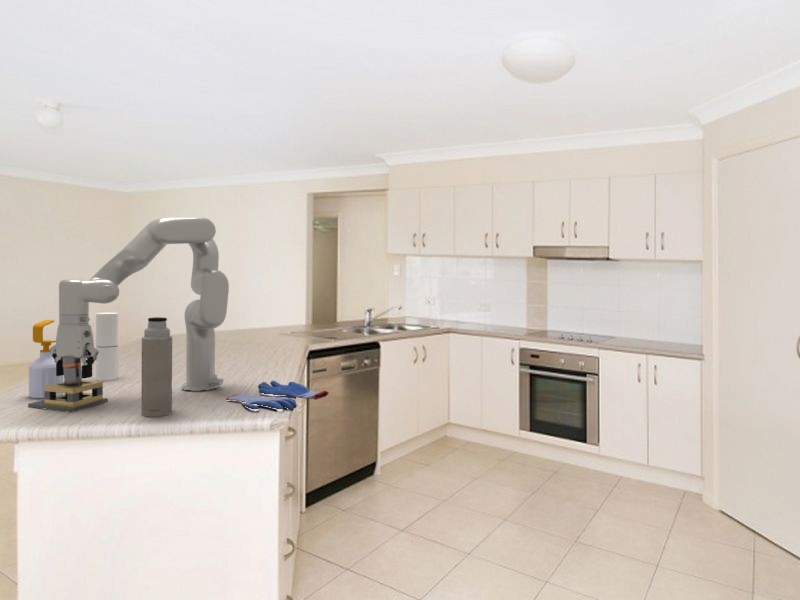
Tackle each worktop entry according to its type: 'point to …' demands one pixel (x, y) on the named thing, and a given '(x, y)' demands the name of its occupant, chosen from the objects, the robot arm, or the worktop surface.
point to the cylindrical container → (107, 346)
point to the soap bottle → (42, 365)
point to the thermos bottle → (156, 368)
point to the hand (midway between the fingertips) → (74, 376)
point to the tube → (72, 373)
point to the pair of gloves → (277, 389)
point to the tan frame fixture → (71, 396)
